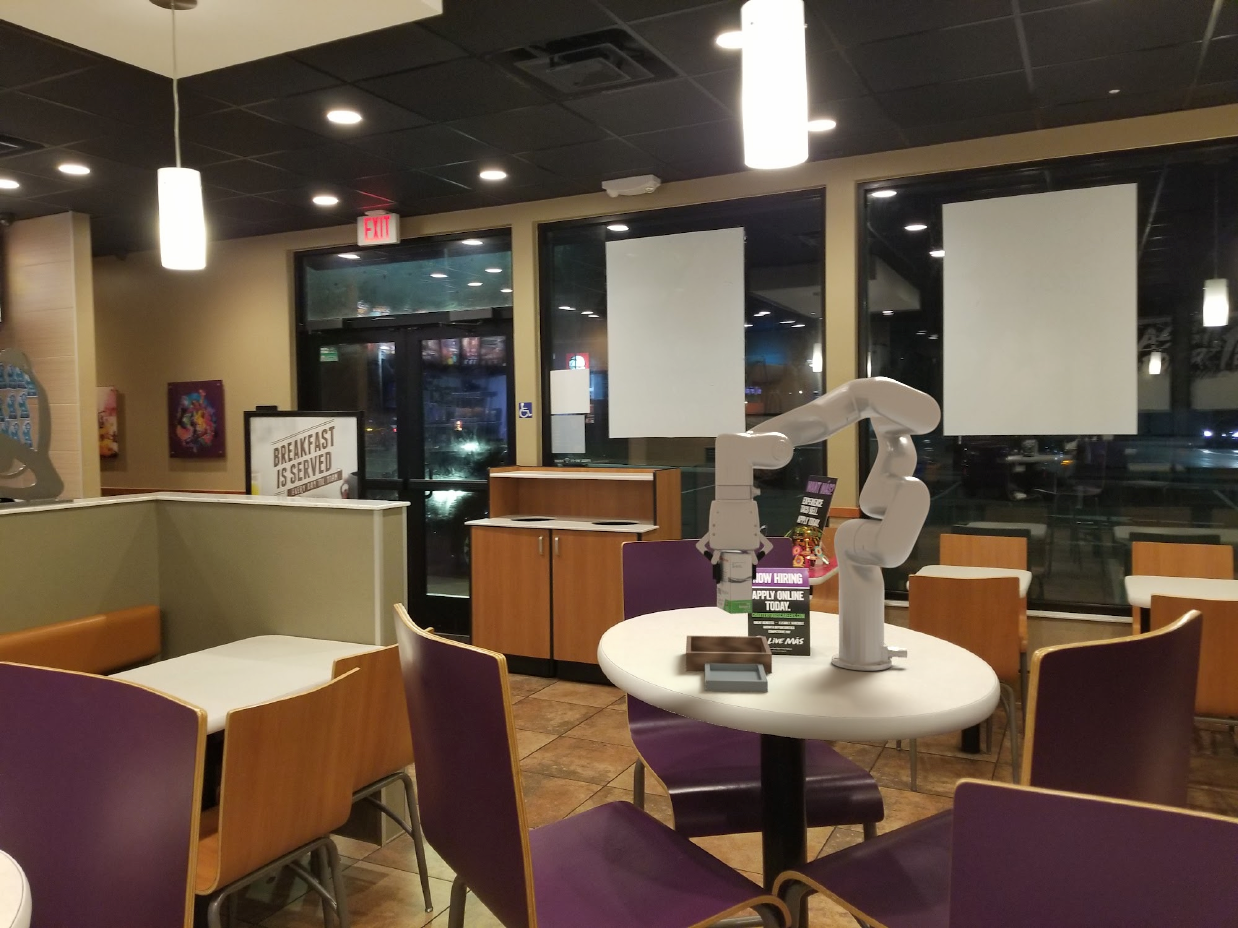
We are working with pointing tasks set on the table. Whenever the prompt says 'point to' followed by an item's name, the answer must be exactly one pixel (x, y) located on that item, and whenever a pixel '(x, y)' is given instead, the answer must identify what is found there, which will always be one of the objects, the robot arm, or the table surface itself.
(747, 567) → the ink box
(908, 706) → the table surface
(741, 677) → the tray
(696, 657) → the crate
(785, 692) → the table surface
